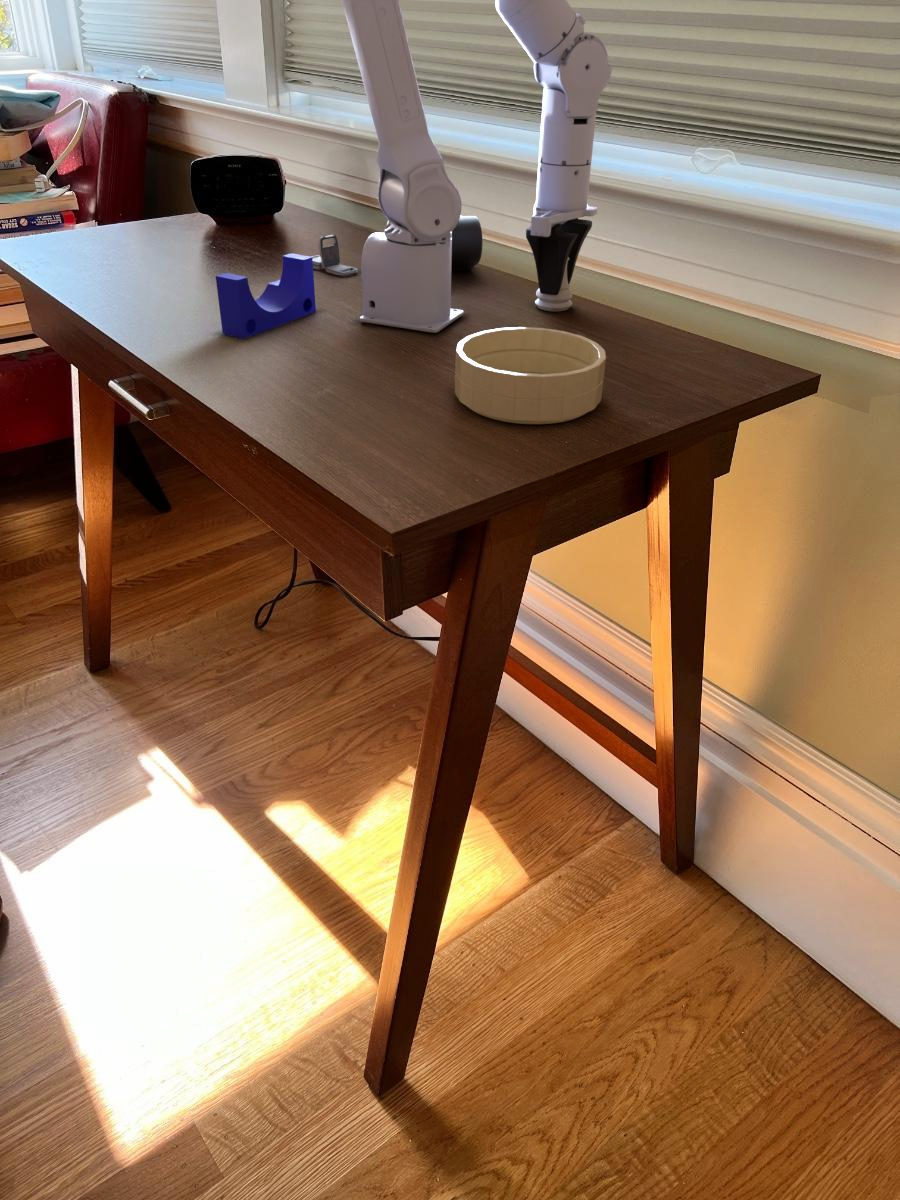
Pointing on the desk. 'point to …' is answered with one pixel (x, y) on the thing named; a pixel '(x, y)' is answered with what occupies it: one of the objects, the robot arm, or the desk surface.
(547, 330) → the pan
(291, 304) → the blue pipe saddle bracket
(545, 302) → the rook chess piece
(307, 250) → the desk surface
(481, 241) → the end cap
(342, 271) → the strap clip
